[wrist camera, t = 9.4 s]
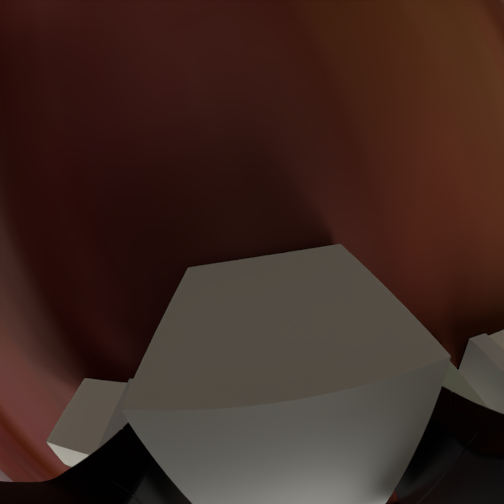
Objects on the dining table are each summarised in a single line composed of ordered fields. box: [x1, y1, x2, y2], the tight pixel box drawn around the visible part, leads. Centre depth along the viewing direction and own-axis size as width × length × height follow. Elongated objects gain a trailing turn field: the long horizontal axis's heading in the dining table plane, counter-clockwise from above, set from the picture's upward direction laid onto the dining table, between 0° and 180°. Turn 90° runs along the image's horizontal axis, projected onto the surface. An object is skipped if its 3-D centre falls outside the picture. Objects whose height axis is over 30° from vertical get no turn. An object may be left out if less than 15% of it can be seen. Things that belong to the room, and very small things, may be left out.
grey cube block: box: [120, 244, 451, 504], centre depth 7 cm, size 6×5×6 cm
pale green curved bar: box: [442, 361, 489, 408], centre depth 8 cm, size 12×2×4 cm, turn 99°
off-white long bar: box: [46, 330, 504, 467], centre depth 8 cm, size 2×22×4 cm, turn 94°
